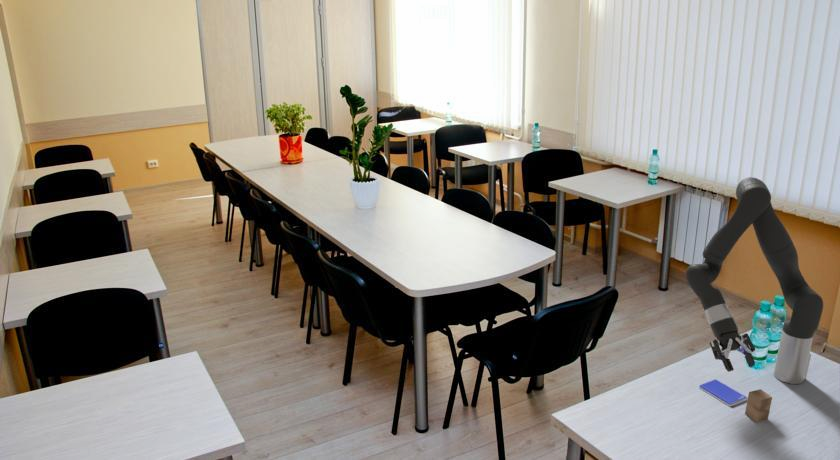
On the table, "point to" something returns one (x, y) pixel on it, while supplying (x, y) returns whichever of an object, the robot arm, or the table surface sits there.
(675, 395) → the table surface
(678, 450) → the table surface
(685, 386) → the table surface
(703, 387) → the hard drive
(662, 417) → the table surface
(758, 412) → the walnut block
